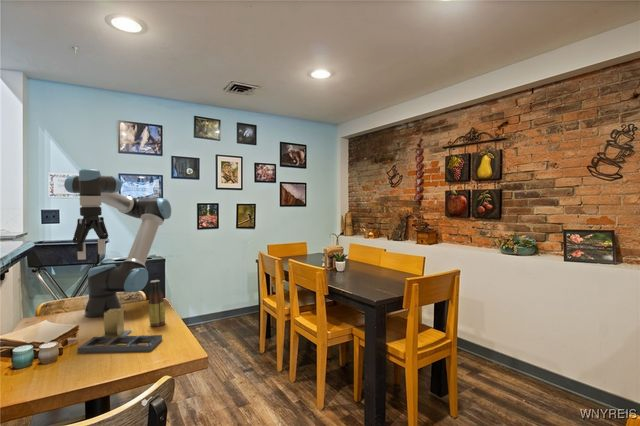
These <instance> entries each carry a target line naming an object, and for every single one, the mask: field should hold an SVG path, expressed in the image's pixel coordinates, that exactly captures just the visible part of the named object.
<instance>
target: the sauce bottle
mask: <svg viewBox="0 0 640 426" xmlns="http://www.w3.org/2000/svg"><path fill="white" fill-rule="evenodd" d="M149 285H150V293H149V295H148V314H149V315H148V316H149V317H148V318H149V324H150V326H151V327H154V328H156V327H161V326H163V325H165V323H166V312H165V298H164V293H163V291H162V290H161V280H159V279H153V280H150V282H149Z"/></svg>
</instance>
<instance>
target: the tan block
mask: <svg viewBox="0 0 640 426" xmlns="http://www.w3.org/2000/svg"><path fill="white" fill-rule="evenodd" d="M124 314H125V313H124V308H121V309H110V310H108V311H106V312H104V316H103V320H104V321H103V325H104V326H103V328H104V332H103V333H104V334H105V337H107V336H120V335H121V334H122V333H124V331H125V318H124Z"/></svg>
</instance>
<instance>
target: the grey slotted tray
mask: <svg viewBox="0 0 640 426" xmlns="http://www.w3.org/2000/svg"><path fill="white" fill-rule="evenodd" d="M162 341H163V335H162V334H155V335H152V334H151V335H149V334H148V335H127V336H107V337H101V336H93V337H92V338H90V339H88V340H87V341H85V342H84V343H82V344H81V345H80V346H77V349H76V351H77V352H76V353H77V354H101V353H102V354H103V353H104V354H106V353H108V354H109V353H137V352H139V353H141V352H147V353H148V352H152V351H153V350H155V348H156V347H157V346H158V345H159V344H160V343H161V342H162ZM139 343H140V344H139ZM141 343H142V344H141ZM144 343H145V344H144ZM97 344H100V345H97ZM102 344H104V345H102Z"/></svg>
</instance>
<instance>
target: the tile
mask: <svg viewBox="0 0 640 426" xmlns="http://www.w3.org/2000/svg"><path fill="white" fill-rule="evenodd" d="M131 333H132V330H131V329H130V330H129V329H128V330H125V329H124V333H122V334H121V335H120V336H129V334H131ZM100 337H105V333H104V334H103V335H101V336H100Z"/></svg>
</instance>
